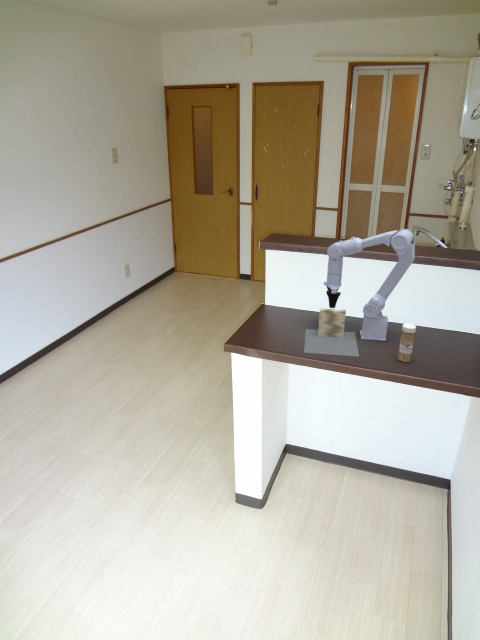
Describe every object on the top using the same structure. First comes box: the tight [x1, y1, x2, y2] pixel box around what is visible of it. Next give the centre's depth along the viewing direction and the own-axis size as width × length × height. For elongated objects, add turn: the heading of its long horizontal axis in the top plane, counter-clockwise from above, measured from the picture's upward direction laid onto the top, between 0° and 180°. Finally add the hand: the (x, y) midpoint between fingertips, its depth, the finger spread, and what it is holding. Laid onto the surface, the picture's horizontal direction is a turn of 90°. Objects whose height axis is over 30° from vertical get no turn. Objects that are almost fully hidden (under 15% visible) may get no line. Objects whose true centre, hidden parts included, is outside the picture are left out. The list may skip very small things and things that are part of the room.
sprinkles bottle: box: [397, 323, 417, 363], centre depth 163 cm, size 5×5×14 cm
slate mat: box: [303, 328, 360, 358], centre depth 178 cm, size 20×22×1 cm
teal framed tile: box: [317, 308, 347, 337], centre depth 182 cm, size 10×2×11 cm, turn 81°
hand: (331, 304), depth 188 cm, fingers open, 7 cm apart
